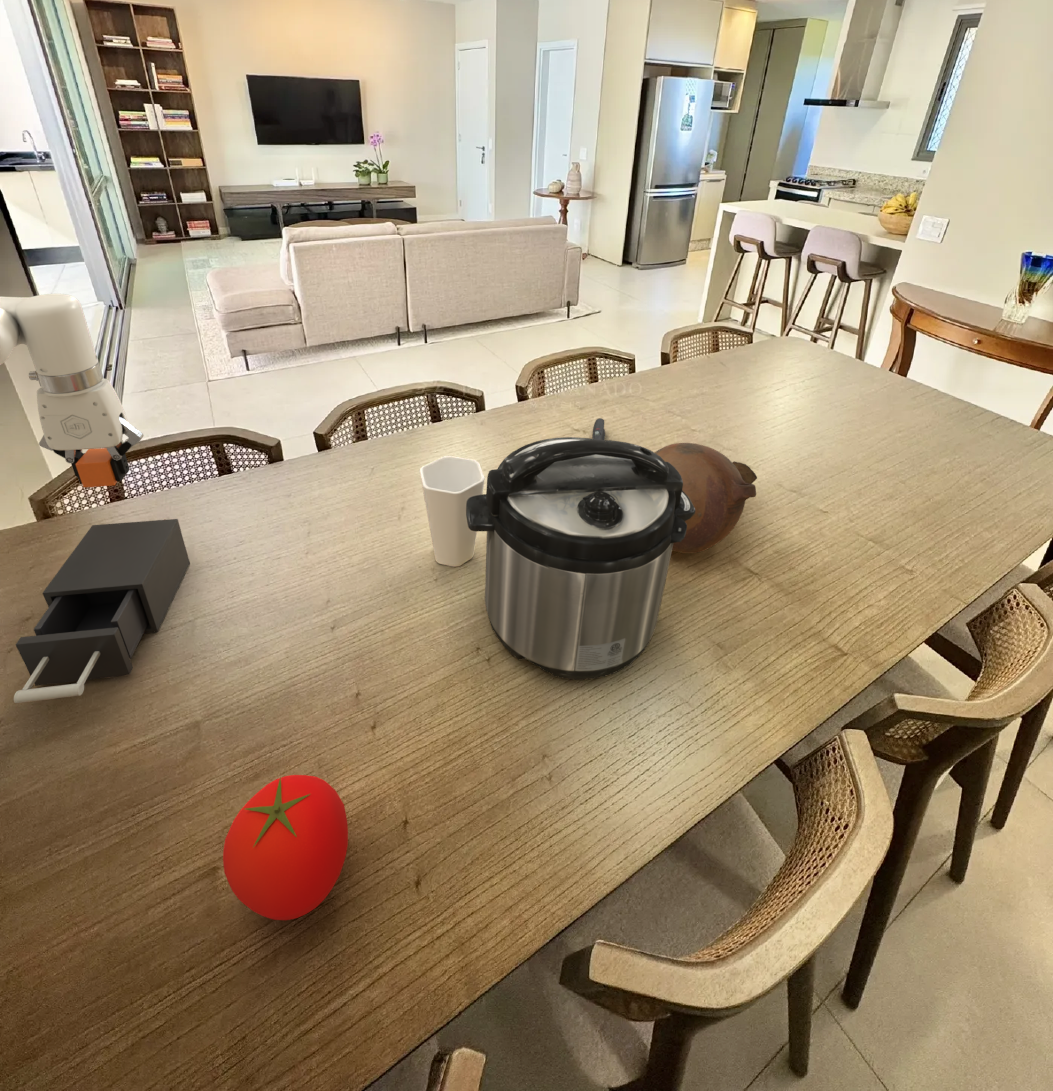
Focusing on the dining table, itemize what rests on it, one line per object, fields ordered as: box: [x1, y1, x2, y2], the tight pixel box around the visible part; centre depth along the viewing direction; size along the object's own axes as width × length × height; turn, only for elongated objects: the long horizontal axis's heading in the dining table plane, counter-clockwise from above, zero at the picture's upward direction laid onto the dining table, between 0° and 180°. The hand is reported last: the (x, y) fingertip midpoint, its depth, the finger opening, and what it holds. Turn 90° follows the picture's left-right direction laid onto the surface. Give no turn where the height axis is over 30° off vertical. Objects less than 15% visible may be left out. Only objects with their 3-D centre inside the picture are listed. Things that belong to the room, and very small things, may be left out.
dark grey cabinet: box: [42, 518, 191, 635], centre depth 91 cm, size 15×13×10 cm
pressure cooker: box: [466, 436, 695, 681], centre depth 87 cm, size 30×28×32 cm
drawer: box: [13, 589, 149, 704], centre depth 81 cm, size 20×11×8 cm, turn 10°
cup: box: [419, 455, 486, 568], centre depth 102 cm, size 11×10×17 cm
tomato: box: [222, 774, 349, 921], centre depth 58 cm, size 11×11×13 cm
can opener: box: [591, 417, 606, 440], centre depth 138 cm, size 18×7×6 cm, turn 166°
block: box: [75, 448, 118, 488], centre depth 96 cm, size 4×4×4 cm
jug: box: [653, 442, 758, 554], centre depth 111 cm, size 20×20×30 cm
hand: (104, 476), depth 97 cm, fingers closed on block, 4 cm apart
